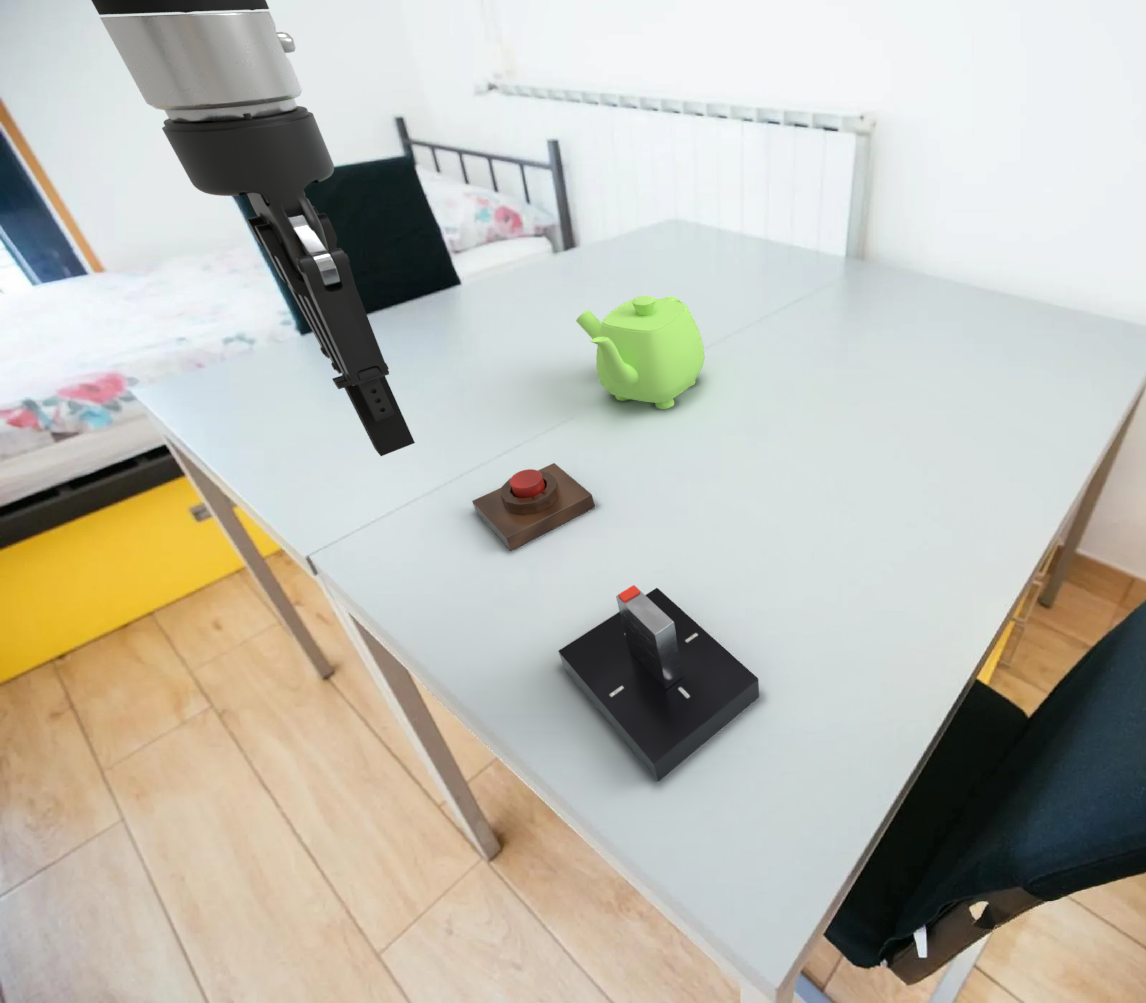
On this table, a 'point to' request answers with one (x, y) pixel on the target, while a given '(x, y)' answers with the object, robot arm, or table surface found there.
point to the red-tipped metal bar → (650, 636)
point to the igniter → (533, 508)
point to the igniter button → (527, 483)
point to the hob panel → (661, 688)
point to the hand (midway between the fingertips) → (394, 445)
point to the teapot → (646, 349)
